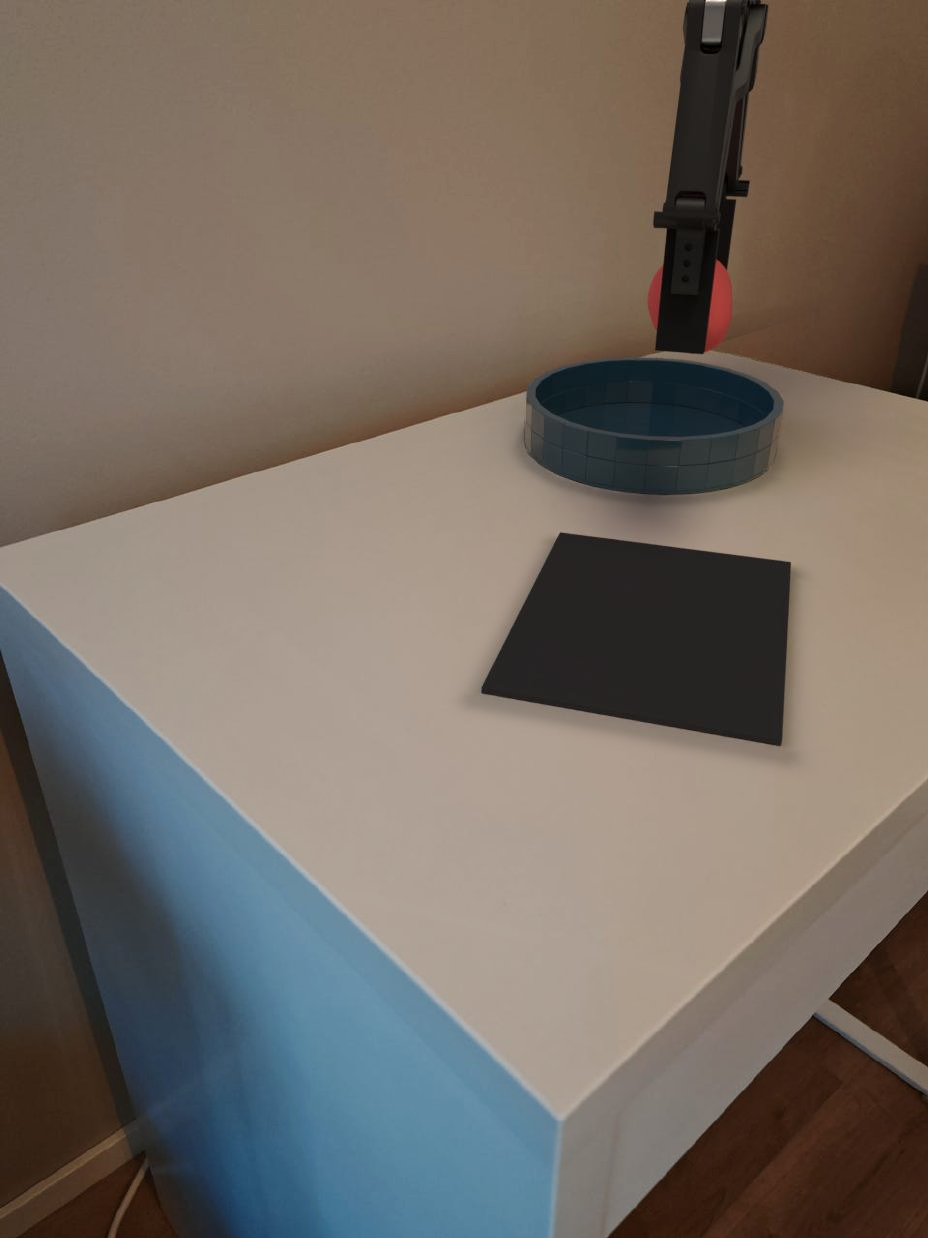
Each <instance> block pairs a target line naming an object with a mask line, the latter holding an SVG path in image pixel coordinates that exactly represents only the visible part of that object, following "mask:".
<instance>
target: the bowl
mask: <svg viewBox="0 0 928 1238" xmlns="http://www.w3.org/2000/svg"><path fill="white" fill-rule="evenodd" d="M784 404H785V401H784V399H783V398H782V396H781V395H780V393H779V391H778V390H776V389H775V388H773V387H772V386H771V385H770V384H769V383H767V382H765V381H763V380H761V379H759V378H756V377H755V376H752V375H751V374H750V375H749V374H748V373H744V372H741V371H737V370H735V369H732V368H728V367H724V366H719V365H716V364H711V363H706V362H699V361H692V360H687V359H678V358H677V359H676V358H664V357H637V356H636V357H635V356H634V357H628V356H626V357H610V358H609V357H607V358H598V359H591V360H583V361H579V362H575V363H570V364H565V365H560V366H559V367H556V368H552V369H550V370H547V371H545V372H544V373H541V374H540V375H538V376H537V377H535V378H534V379H533V380H531V382H530V384H529V385H528V386H527V387H526V395H525V430H524V443H525V447H526V451H527V452H528V454H529V456H531V457H532V459H533V460H534V461H535V462H537V463H538V464H539V465H541V466H542V467H543V468H545V469H547V470H549V471H551V472H552V473H554V474H557V475H559V476H562V477H564V478H566V479H569V480H571V481H574V482H577V483H580V484H585V485H587V486H588V485H589V486H593V487H597V488H601V489H606V490H612V491H618V492H625V493H637V494H644V495H645V494H646V495H647V494H648V495H687V494H689V495H690V494H701V493H707V492H714V491H715V492H716V491H720V490H725V489H730V488H733V487H736V486H739V485H744V484H745V483H748V482H750V481H753V480H755V479H756V478H758V477H760V476H762V475H763V474H765V473H766V472H767V471H768V470H769V469H770V468H771V466H772V465H773V464H774V462H775V459H776V454H777V449H778V443H779V437H780V431H781V426H782V419H783V414H784Z"/></svg>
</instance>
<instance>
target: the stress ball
mask: <svg viewBox="0 0 928 1238" xmlns="http://www.w3.org/2000/svg"><path fill="white" fill-rule="evenodd" d="M662 273H663V264H662V265H661V266H660V268H659V269H657V271H656V273H655V274H654V276H653V278H652V280H651V282H650V285H649V288H648V292H647V310H648V314H649V318H650V320H651V323H652V326H653V327H654V329H655V330H656V331H657V324H658V314H659V304H660V294H661V283H662ZM732 317H733V285H732V279H731V276H730V274H729V272H728V269H727V270H726V269H725V267H724V266H723V265H722V264H721V263H720V262H719V261H718V260H717V259H716V266H715V275H714V283H713V291H712V299H711V307H710V315H709V323H708V331H707V339H706V347H705V352H704V354H705V353H708V352H709V351H712V350H713V349H715V348H716V347H717V346H719V345H720V344H721V343H722V341H724V339H725V337H726V336H727V334H728V331H729V329H730V326H731V322H732ZM689 354H691V355H693V354H692V353H689Z"/></svg>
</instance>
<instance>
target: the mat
mask: <svg viewBox="0 0 928 1238" xmlns="http://www.w3.org/2000/svg"><path fill="white" fill-rule="evenodd" d="M791 569H792V562H791V561H786V560H779V559H771V558H763V557H755V556H749V555H748V556H746V555H740V554H733V553H723V552H715V551H709V550H708V551H707V550H700V549H693V548H685V547H678V546H677V547H676V546H669V545H662V544H655V543H646V542H641V541H640V542H638V541H631V540H623V539H615V538H610V537H609V538H608V537H600V536H593V535H586V534H585V535H583V534H577V533H570V532H561V531H560V532H559V533H558V535H557V537H556V539H555V541H554V543H553V544H552V546H551V549H550V550H549V553H548V555H547V557H546V559H545V561H544V563H543V565H542V567H541V568H540V571H539V573H538V574H537V577H536V579H535V581H534V583H533V585H532V587H531V588H530V591H529V592H528V594H527V597H526V598H525V601H524V603H523V604H522V606H521V609H520V610H519V612H518V614H517V616H516V618H515V620H514V622H513V624H512V626H511V628H510V630H509V632H508V634H507V636H506V637H505V640H504V642H503V644H502V646H501V648H500V650H499V652H498V654H497V656H496V658H495V660H494V661H493V664H492V666H491V667H490V669H489V672H488V674H487V676H486V678H485V680H484V682H483V683H482V685H481V694H487V695H493V696H498V697H503V698H509V699H515V700H520V701H526V702H532V703H538V704H544V705H549V706H554V707H559V708H565V709H571V710H572V709H573V710H577V711H583V712H587V713H593V714H600V715H606V716H610V717H611V716H612V717H615V718H617V717H618V718H623V719H629V720H633V721H639V722H645V723H651V724H656V725H662V726H667V727H673V728H679V729H683V730H684V729H685V730H689V731H697V732H701V733H702V732H703V733H708V734H713V735H719V736H724V737H730V738H735V739H742V740H747V741H752V742H757V743H764V744H769V745H774V746H775V745H776V746H782V743H783V734H784V733H783V732H784V731H783V730H784V711H785V710H784V709H785V692H786V691H785V690H786V670H787V650H788V631H789V614H790V613H789V610H790V590H791V573H792V571H791Z"/></svg>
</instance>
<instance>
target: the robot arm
mask: <svg viewBox="0 0 928 1238" xmlns="http://www.w3.org/2000/svg"><path fill="white" fill-rule="evenodd" d="M768 16H769V4H766V3H762V0H688V2H686V5H685V10H684V16H683V21H682V22H683V23H682V33H683V44H684V48H683V53H682V54H683V55H682V61H681V68H680V74H679V84H680V85H679V92H678V101H677V109H676V115H675V116H676V117H675V125H674V133H673V140H672V148H671V156H670V157H671V158H670V164H669V172H668V179H667V188H666V189H667V190H666V196H665V201H664V202H663V205H662V211H656V210H655V211H653V212H654V213H653V218H652V219H653V220H652V226H653V227H652V228H653V229H666V233H665V243H664V252H663V253H664V254H663V264H662V265H663V273H662V283H661V294H660V304H659V314H658V324H657V330H656V335H655V344H654V345H655V347H654V351H655V352H656V351H657V352H669V353H681V354H690V353H692V354H691V355H694V354H695V355H704V354H705V353H706V352H705V347H706V339H707V331H708V323H709V315H710V307H711V299H712V291H713V283H714V275H715V266H716V259H717V260H718V261H719V262H720V263H721V264H722V265H723V266H724V267H725V269H726V270H727V271H728V268H729V267H728V266H729V259H730V253H731V251H730V249H731V243H732V236H733V228H734V221H735V213H736V205H737V199H735V198H748V196H749V191H750V183H751V180H750V179H749V180H748V179H741V177H742V175H743V168H744V166H742V161H743V160H742V159H743V151H744V142H745V133H746V124H747V116H748V107H749V99H750V93H751V92H752V91H753V89H754V87H755V84H756V78H757V74H758V64H759V55H760V48H761V47H760V46H761V45H762V43H763V42H764V38H765V35H766V31H767V25H768V24H767V23H768ZM728 197H732V198H728ZM733 197H734V198H733ZM704 352H705V353H704Z"/></svg>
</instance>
